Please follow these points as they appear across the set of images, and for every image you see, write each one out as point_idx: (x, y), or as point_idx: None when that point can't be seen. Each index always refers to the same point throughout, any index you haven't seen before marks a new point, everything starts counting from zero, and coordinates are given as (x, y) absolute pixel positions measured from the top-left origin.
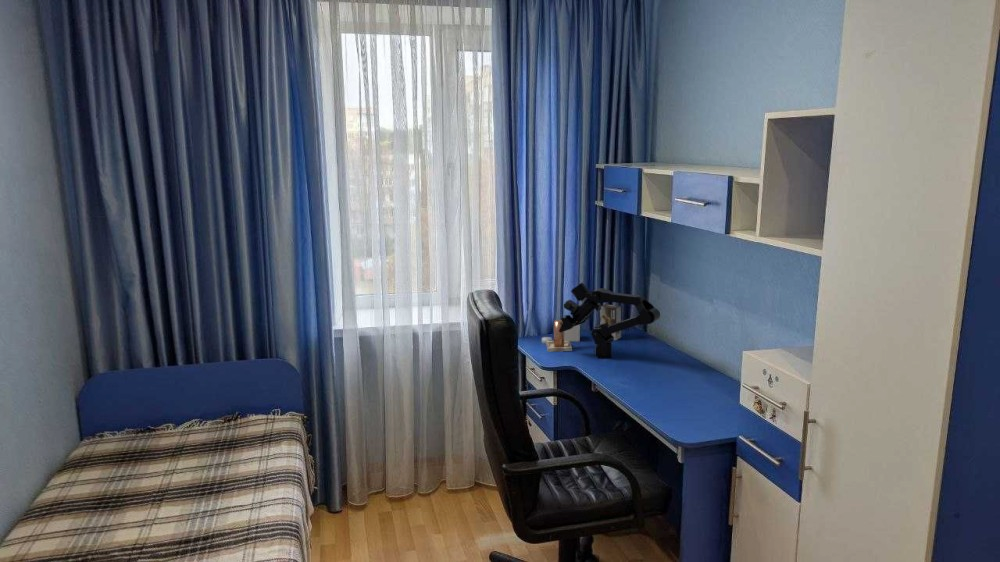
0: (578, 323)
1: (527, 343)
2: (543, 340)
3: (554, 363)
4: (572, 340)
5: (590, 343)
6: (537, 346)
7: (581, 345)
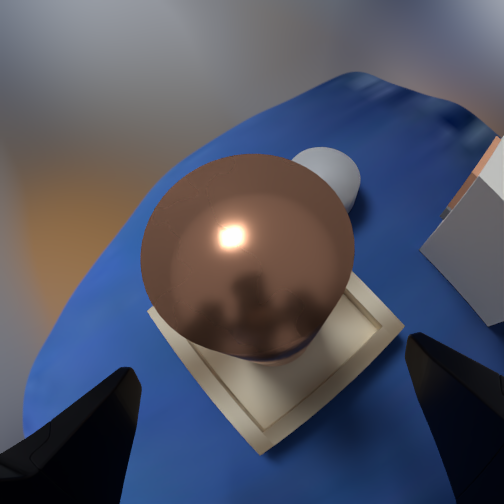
0: (463, 493)
1: (235, 133)
2: None
3: None
4: (464, 292)
5: None
6: None
7: None
